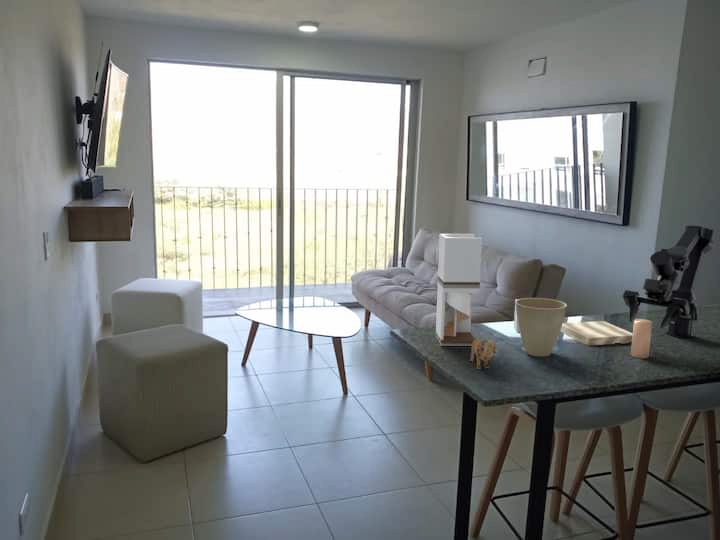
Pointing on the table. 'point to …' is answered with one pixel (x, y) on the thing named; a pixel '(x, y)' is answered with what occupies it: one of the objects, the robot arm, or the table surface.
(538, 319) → the plant pot
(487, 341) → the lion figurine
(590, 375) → the table surface
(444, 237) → the white two-tier tower
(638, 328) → the peach capsule
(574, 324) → the birch base plate
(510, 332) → the table surface
